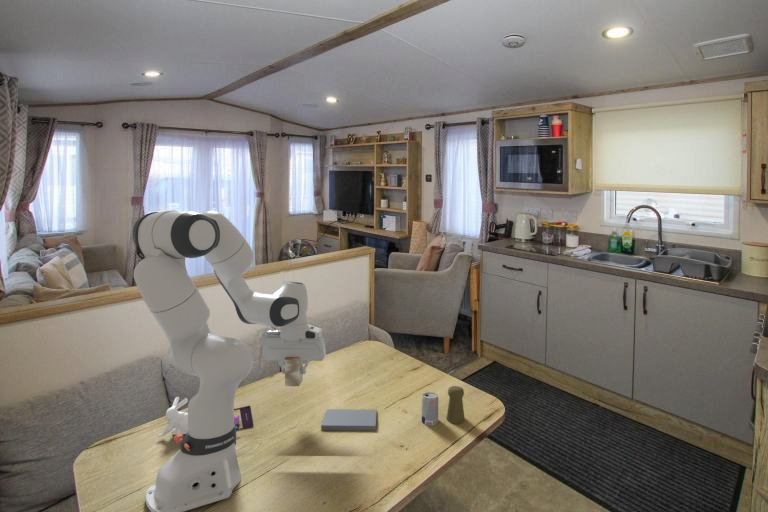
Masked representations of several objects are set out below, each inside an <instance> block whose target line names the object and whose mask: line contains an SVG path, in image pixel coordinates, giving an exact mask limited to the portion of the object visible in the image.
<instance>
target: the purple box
mask: <svg viewBox="0 0 768 512" xmlns="http://www.w3.org/2000/svg"><path fill="white" fill-rule="evenodd" d="M238 410H239V414H240V415H236V414H234V424H235V425H236V431H240V430H245V429H249V428H254V421H253V414H252V408H251V405H246V406H242V407H237V408H234V412H235V411H238ZM240 420H241V421H240ZM240 422H241V425H242V426H241V428H240V426H239V423H240Z"/></svg>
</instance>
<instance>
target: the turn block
mask: <svg viewBox="0 0 768 512" xmlns="http://www.w3.org/2000/svg"><path fill="white" fill-rule="evenodd" d="M284 365H285V374H284V386H285V387H300V385H302V382H303V380H304V374H301V373H300V372H301V371H300V369H301V367H304V361H300V357H285V360H284Z"/></svg>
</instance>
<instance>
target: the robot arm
mask: <svg viewBox="0 0 768 512" xmlns="http://www.w3.org/2000/svg"><path fill="white" fill-rule="evenodd" d="M132 240H133V243H134V246H135V254H136V255H137V257H139V258H140V259H141V261H139V262H138V263H137V264H136V265H135V267H134V269H133V279H134V281H135V284H136V287H137V290H138V291H139V294H140V295H141V297H142V300H143V302H144V303H145V305H146V306H147V308H148V309H149V311H150V313H151V314H152V316H153V317H154V319H155V320H156V321H157V323H158V324H159V326H160V327H161V329H162V331H163V332H164V334H165V337H166V338H167V341H168V344H169V346H168V349H167V358H168V362H169V363H170V364H171V366H173V367H175V368H176V369H177V370H179V371H180V372H182V373H184V374H187V375H192V376H195V377H198V379H199V388H198V391H197V393H196V394H195V395H194V396H192V398H190V399H189V400H188V405H187V413H188V432H187V434H180V433H179V434H174V435H175V436H174V438H173V440H174V441H175V442H176V444H179V445H180V449H178V451H176V453H175V454H174V455H172V457H170V458H169V459H168V460H167V461H166V462H165V463H163V465H162V466H160V468H159V469H158V471H157V474H156V475H157V476H156V478H155V479H156V480H155V484H153V485H150V487H148V488H147V490H146V492H145V504H146V506H147V508H148V509H149V510H150V511H149V512H186V511H189V510H193V509H196V508H199V507H202V506H206V505H208V504H209V505H210V504H213V503H216V502H219V501H221V500H226V499H228V498H230V497H231V495H232V493H233V490H234V489H235V488H236V487H237V485H239V483H240V482H241V480H242V473H241V469H240V465H239V461H238V456H237V451H236V445H237V430H236V425H235V424H234V415H235V411H234V409H235V399H236V398H235V397H236V393H237V390H238V387H239V385H240V383H241V382H242V381H243V380H244V379H245V378H246V377H248V375H249V374H250V373H251V371H252V369H253V365H254V360H255V359H254V352H253V350H252V348H251V346H249V345H248V344H246V343H245V342H242V341H240V340H239V339H236V338H234V337H227V336H222V335H219V334H216V333H214V332H213V331H212V330H211V329H210V328H209V325H208V321H209V318H210V316H211V315H210V314H211V312H210V307H208V304H207V303H206V301H205V300H204V297H203V295H202V294H201V293H200V291H199V290H198V287H197V286H196V284H195V282H194V281H193V279H192V278H191V276H190V275H189V274H188V270H187V266H186V258H187V259H196V258H200V257H204V258H205V260H206V261H207V262H208V263H209V265H210V266H211V267H212V268H213V271H214V272H213V273H214V275H215V277H216V280H218V282H219V283H220V286H222V288H223V290H224V291H225V292H226V294H227V296H228V297H229V299H230V300H231V301H232V303H233V305H234V308H235V311H236V315H237V316H238V319H239V320H240V321H241V322H242V323H244V324H246V325H260V326H267V327H275V328H279V330H266V331H265V332H263V333H262V334H261V343H262V349H261V358H262V359H263V360H264V361H278V366H279V367H280V368H281V374H282V375H283V374H284V375H285V357H300V361H303V367H301V369H300V371H301V372H300V373H301V374H303V375H305V374H307V366H308V365H309V363H310V362H311V361H312V362H322V361H324V359H325V358H326V356H327V355H326V353H327V350H326V343H325V339H324V338H323V337H322V333H323V329H322V328H321V327H318V326H314V325H312V324H309V321H308V316H307V314H308V308H309V307H308V306H309V305H308V304H309V302H308V291H307V287H306V284H304V283H303V282H299V281H289V280H288V281H287V280H286V281H283V282H281V285H280V287H279V288H278V289H277V290H276V291H274V292H273V293H264V292H263V293H262V292H257V291H255V290H252V289H251V288H250V286H249V285H248V284H247V282H246V280H245V278H244V277H243V275H244V274H246V273H247V272H248V271H249V269H250V267H251V266H252V264H253V261H254V252H253V249H252V247H251V245H250V244H249V242H248V241H247V240H246V238H245V237H244V236H243V234H242V233H241V232H240V230H239V229H238V228H237V227H236V226H235V225H234V224H233V222H231V220H229V219H228V218H227V217H226V216H225V215H224V214H222V213H221V212H220V211H215V210H208V211H204V212H202V213H200V212H197V211H179V210H164V211H153V212H149V213H146V214H145V215H142V216H140V217H139V218H138V219H136V221H135V222H134V225H133V227H132Z"/></svg>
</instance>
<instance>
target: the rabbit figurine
mask: <svg viewBox="0 0 768 512" xmlns="http://www.w3.org/2000/svg"><path fill="white" fill-rule="evenodd" d="M179 401H180V397H179V396H176V397H175V398H174V399H173V401H172V402H173V403H172V405H171V407H169V408H168V409H166V412H165V416H164V417H165V420H167V425H166V427H165V428H164V429H163V431H162V432H161V433H159V434H157V437H164V436H165V435H167V434H169V433H170V432H171V435H173V436H174V435H176V434H179V433H180V434H182V435H186V434H187V432H188V412H187V411H178V409H179V408H182V407H183V406H184V405H186V404H187V403H188V402H189V399H188V398H187V397H185V398H184V399H181V401H180V402H179Z"/></svg>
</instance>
